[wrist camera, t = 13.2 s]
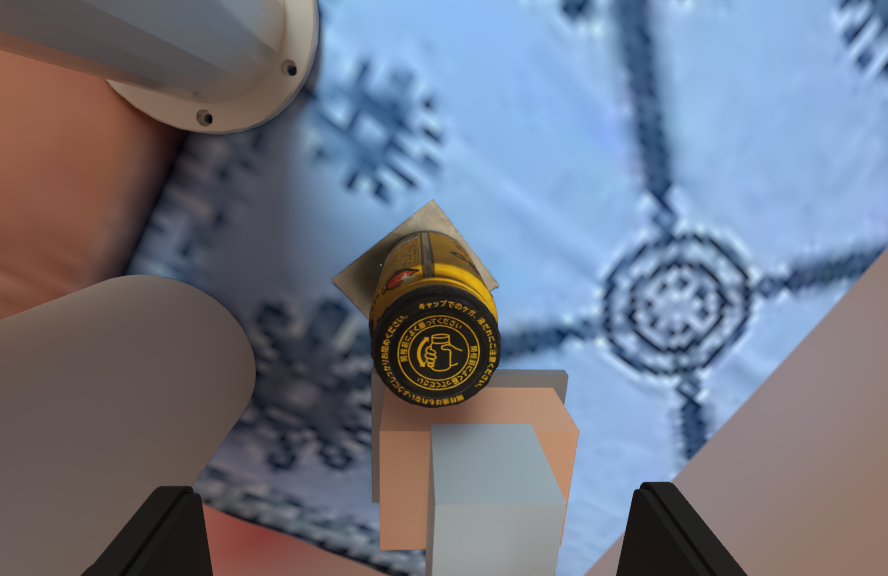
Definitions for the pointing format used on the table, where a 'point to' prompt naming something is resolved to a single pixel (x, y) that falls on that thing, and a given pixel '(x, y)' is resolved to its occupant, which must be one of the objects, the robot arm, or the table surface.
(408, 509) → the brick
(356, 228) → the table surface
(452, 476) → the brick
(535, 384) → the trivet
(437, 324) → the condiment
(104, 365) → the cylinder vase
